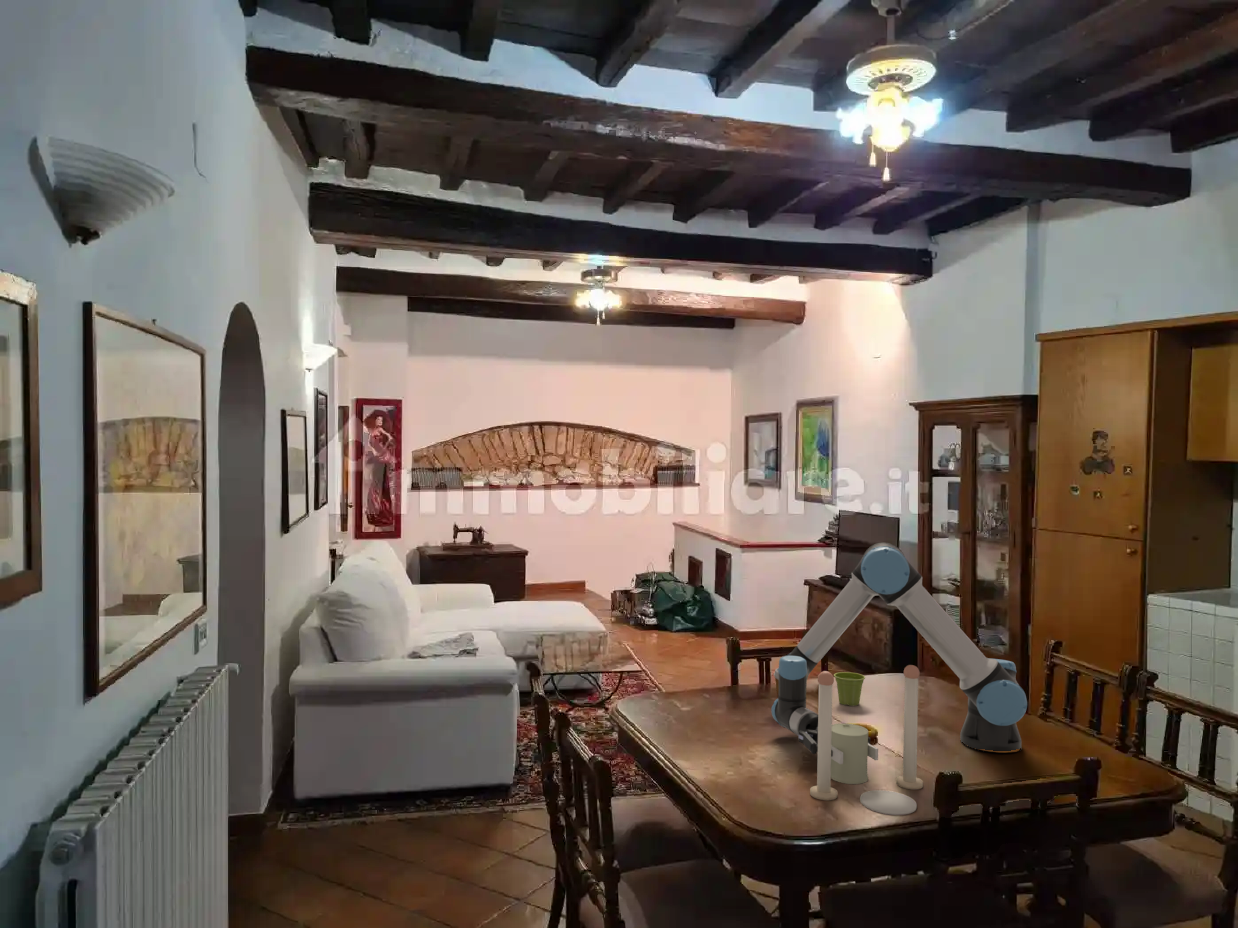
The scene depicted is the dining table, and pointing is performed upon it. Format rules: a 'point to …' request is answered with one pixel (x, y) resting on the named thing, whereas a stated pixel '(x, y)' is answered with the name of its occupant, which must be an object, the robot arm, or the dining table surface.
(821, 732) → the gate
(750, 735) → the dining table surface
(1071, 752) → the dining table surface
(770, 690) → the dining table surface
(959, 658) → the robot arm
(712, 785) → the dining table surface
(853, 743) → the can
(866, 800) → the coaster
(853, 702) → the plant pot
